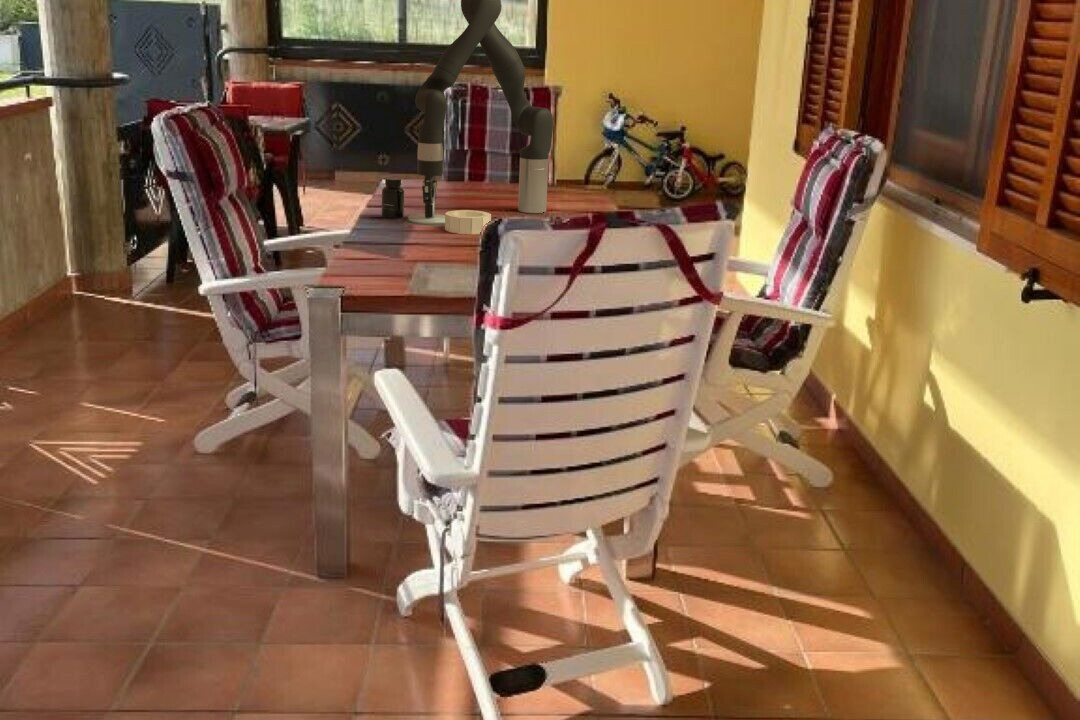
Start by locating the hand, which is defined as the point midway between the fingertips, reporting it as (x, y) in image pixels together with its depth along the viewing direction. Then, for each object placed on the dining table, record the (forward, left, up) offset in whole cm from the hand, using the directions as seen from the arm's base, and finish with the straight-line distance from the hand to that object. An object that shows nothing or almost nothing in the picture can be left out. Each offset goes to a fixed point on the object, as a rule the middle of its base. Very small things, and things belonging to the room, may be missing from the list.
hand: (429, 215), depth 317 cm
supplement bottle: (-4, -12, -2) cm, 13 cm away
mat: (0, 0, -2) cm, 2 cm away
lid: (0, 0, -2) cm, 2 cm away
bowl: (+11, +13, -2) cm, 17 cm away
